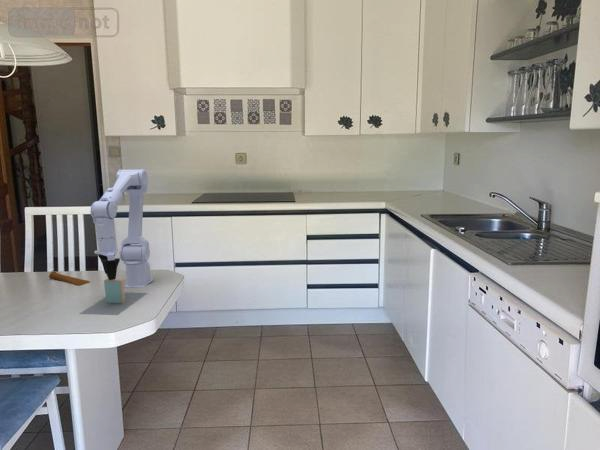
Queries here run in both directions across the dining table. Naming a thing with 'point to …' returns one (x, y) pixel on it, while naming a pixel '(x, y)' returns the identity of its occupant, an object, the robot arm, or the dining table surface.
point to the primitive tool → (67, 279)
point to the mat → (113, 305)
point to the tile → (114, 291)
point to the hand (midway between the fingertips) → (110, 276)
